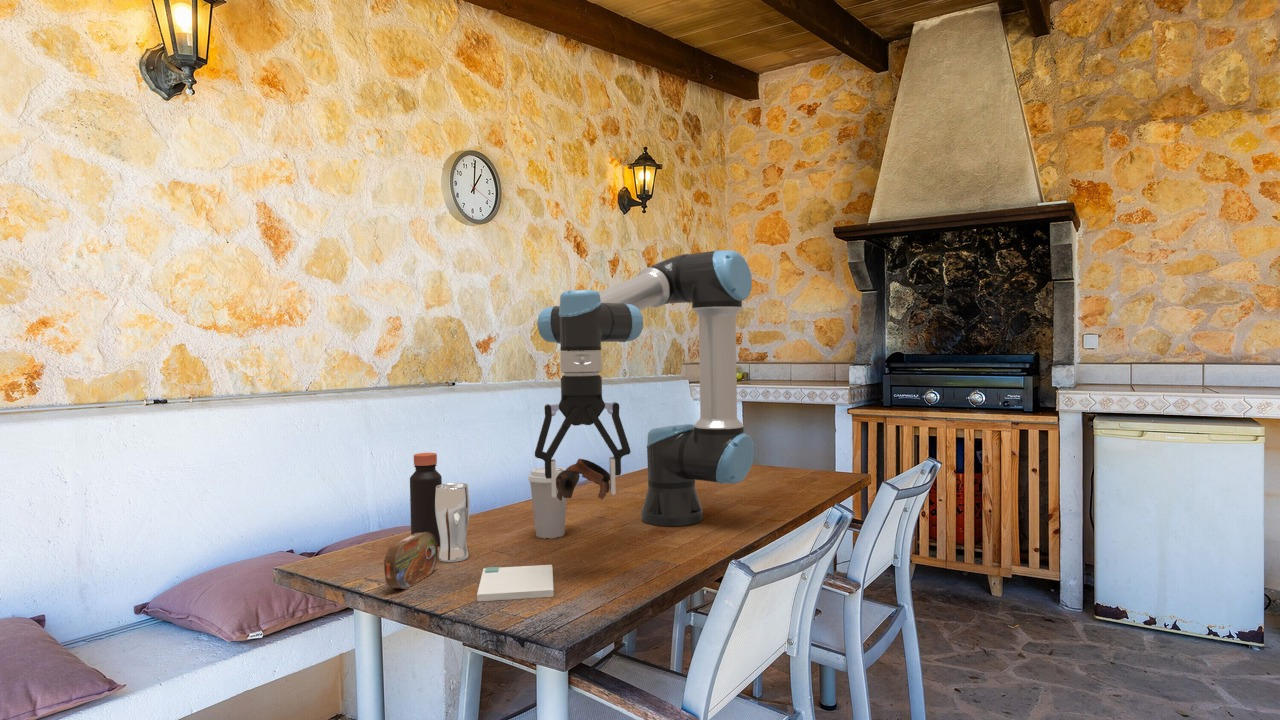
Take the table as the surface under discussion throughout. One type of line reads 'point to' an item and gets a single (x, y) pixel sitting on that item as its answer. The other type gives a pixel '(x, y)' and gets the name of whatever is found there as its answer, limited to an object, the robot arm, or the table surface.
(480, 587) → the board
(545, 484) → the coffee cup
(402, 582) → the tin
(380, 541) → the table surface
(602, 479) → the broken pottery vessel
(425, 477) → the bottle
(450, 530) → the beer glass
